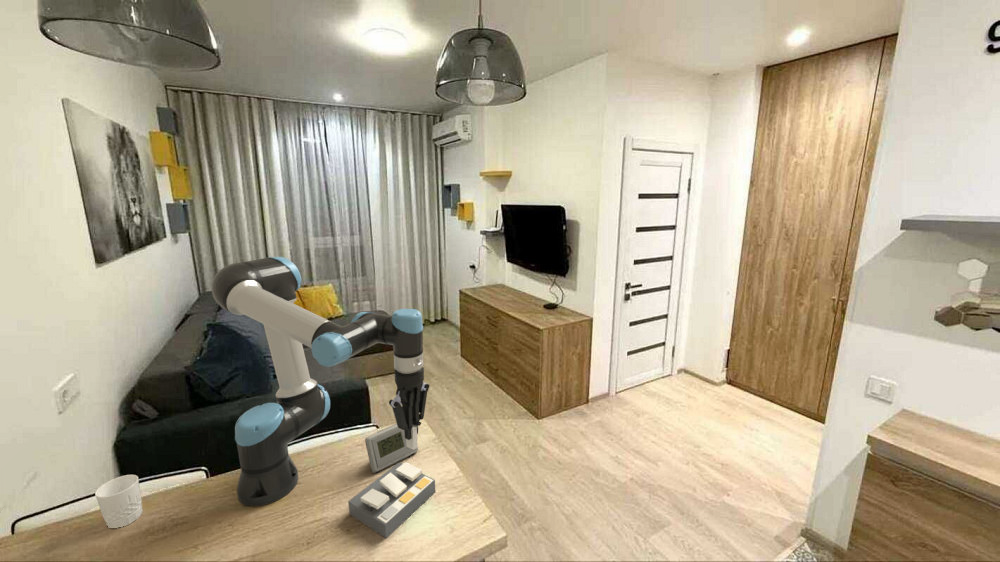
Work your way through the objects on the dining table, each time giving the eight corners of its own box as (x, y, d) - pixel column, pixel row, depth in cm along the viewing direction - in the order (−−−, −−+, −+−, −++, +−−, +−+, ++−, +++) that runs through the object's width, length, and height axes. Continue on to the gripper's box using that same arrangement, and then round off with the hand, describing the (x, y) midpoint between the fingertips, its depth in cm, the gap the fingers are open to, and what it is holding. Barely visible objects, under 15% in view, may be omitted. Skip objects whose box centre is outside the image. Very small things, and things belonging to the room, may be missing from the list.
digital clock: (370, 476, 116) (368, 445, 114) (363, 459, 123) (361, 429, 121) (422, 457, 124) (421, 428, 122) (413, 442, 132) (411, 414, 129)
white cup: (144, 502, 106) (137, 470, 104) (146, 518, 100) (138, 485, 98) (104, 518, 101) (95, 485, 98) (103, 537, 95) (94, 502, 93)
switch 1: (361, 503, 100) (360, 497, 100) (373, 493, 103) (372, 488, 103) (378, 511, 97) (377, 505, 96) (389, 501, 100) (388, 496, 100)
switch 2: (379, 485, 105) (379, 480, 104) (389, 476, 108) (390, 472, 107) (395, 499, 102) (396, 494, 101) (406, 490, 105) (406, 485, 105)
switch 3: (396, 474, 110) (395, 469, 110) (405, 466, 113) (405, 461, 113) (412, 483, 107) (412, 478, 106) (422, 474, 110) (421, 470, 109)
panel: (349, 514, 102) (348, 499, 101) (400, 473, 117) (399, 460, 116) (386, 538, 95) (385, 522, 94) (435, 492, 110) (434, 478, 109)
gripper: (400, 381, 94) (404, 465, 99) (436, 362, 105) (438, 439, 110) (379, 373, 98) (384, 454, 103) (416, 356, 109) (418, 430, 114)
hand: (412, 446), depth 107 cm, fingers closed
